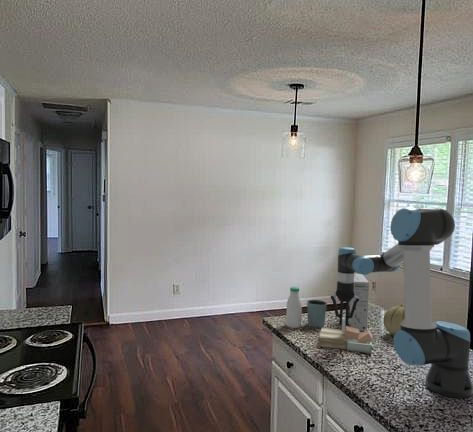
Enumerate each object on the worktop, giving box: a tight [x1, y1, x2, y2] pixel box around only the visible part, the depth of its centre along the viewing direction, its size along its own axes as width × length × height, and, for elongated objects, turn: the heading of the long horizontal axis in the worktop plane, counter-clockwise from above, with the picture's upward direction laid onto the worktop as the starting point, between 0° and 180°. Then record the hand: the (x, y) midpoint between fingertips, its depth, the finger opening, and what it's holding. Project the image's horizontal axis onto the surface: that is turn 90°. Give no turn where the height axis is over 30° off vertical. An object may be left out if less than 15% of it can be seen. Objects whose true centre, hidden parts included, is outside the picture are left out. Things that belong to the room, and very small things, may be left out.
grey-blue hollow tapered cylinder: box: [306, 299, 328, 328], centre depth 217 cm, size 10×10×12 cm
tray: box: [346, 331, 373, 354], centre depth 189 cm, size 16×10×4 cm, turn 164°
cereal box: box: [348, 273, 370, 332], centre depth 219 cm, size 22×8×25 cm, turn 172°
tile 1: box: [344, 326, 360, 340], centre depth 190 cm, size 6×6×3 cm
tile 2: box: [357, 329, 373, 344], centre depth 189 cm, size 6×6×3 cm
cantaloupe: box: [382, 304, 405, 337], centre depth 202 cm, size 15×15×15 cm
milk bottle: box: [285, 286, 303, 329], centre depth 214 cm, size 8×8×20 cm
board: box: [318, 327, 348, 350], centre depth 192 cm, size 14×12×4 cm
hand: (343, 332), depth 191 cm, fingers closed
